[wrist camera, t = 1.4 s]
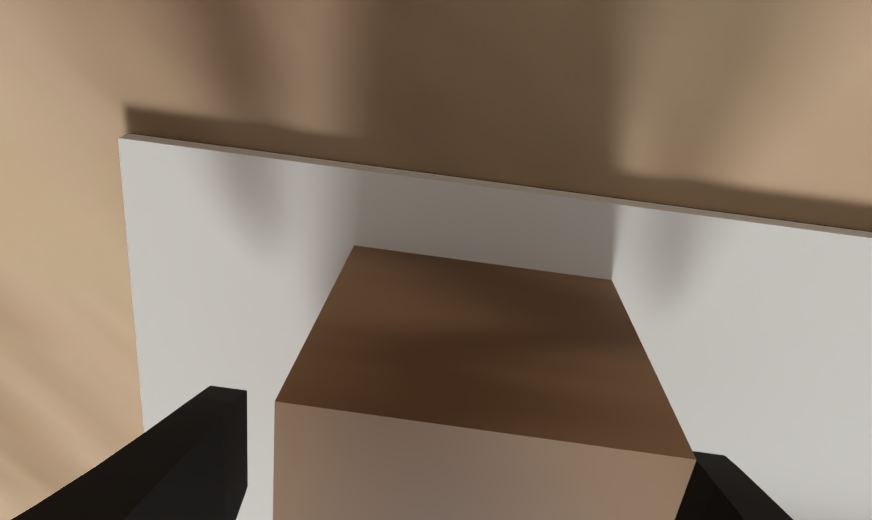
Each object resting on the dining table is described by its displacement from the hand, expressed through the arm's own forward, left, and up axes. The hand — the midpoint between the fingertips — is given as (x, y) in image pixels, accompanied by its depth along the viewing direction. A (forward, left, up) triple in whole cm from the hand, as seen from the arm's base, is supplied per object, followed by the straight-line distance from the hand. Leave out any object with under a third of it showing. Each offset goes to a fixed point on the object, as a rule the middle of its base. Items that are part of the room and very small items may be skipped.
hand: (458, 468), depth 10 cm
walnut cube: (0, 0, -3) cm, 3 cm away
